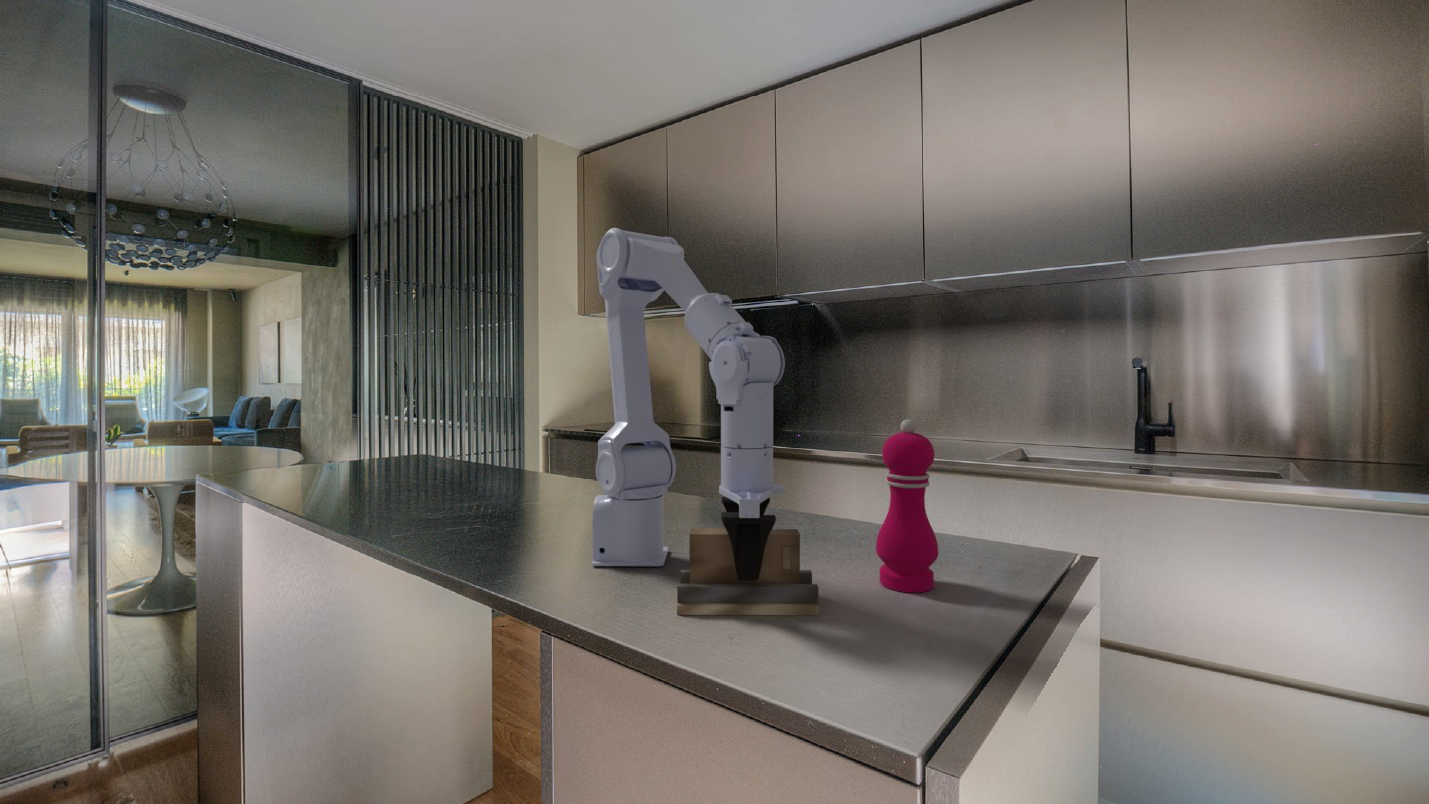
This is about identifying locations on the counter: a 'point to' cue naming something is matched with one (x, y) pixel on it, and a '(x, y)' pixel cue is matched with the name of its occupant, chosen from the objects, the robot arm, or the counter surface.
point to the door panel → (718, 566)
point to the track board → (747, 598)
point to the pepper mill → (907, 514)
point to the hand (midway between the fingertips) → (746, 568)
